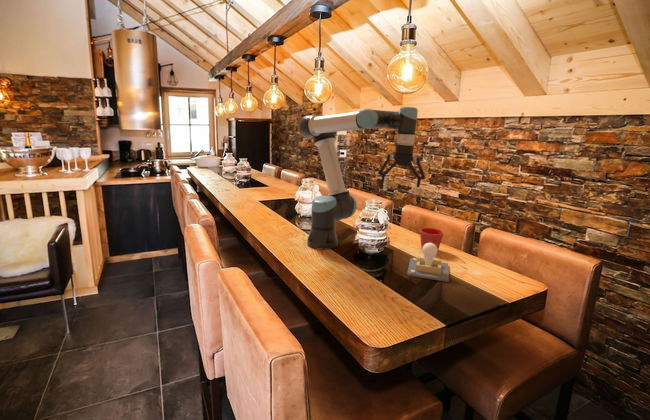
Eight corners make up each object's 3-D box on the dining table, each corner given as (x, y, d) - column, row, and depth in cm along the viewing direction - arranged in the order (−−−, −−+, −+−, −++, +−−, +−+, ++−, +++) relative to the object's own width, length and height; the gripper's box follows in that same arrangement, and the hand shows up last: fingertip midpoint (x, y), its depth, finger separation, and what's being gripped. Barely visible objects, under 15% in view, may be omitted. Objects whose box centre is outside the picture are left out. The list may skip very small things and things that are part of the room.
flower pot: (442, 254, 168) (444, 235, 166) (418, 252, 170) (420, 232, 168) (440, 247, 178) (442, 228, 176) (417, 245, 180) (419, 226, 178)
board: (407, 275, 143) (407, 267, 142) (410, 260, 160) (411, 252, 159) (448, 282, 139) (449, 273, 138) (447, 265, 155) (448, 257, 155)
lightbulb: (426, 271, 145) (429, 246, 142) (417, 266, 150) (419, 241, 148) (438, 269, 147) (441, 244, 145) (429, 264, 153) (431, 240, 150)
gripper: (374, 142, 153) (370, 190, 159) (434, 147, 146) (427, 197, 152) (377, 141, 160) (373, 187, 166) (435, 146, 153) (428, 194, 159)
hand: (399, 192), depth 159 cm, fingers open, 13 cm apart
